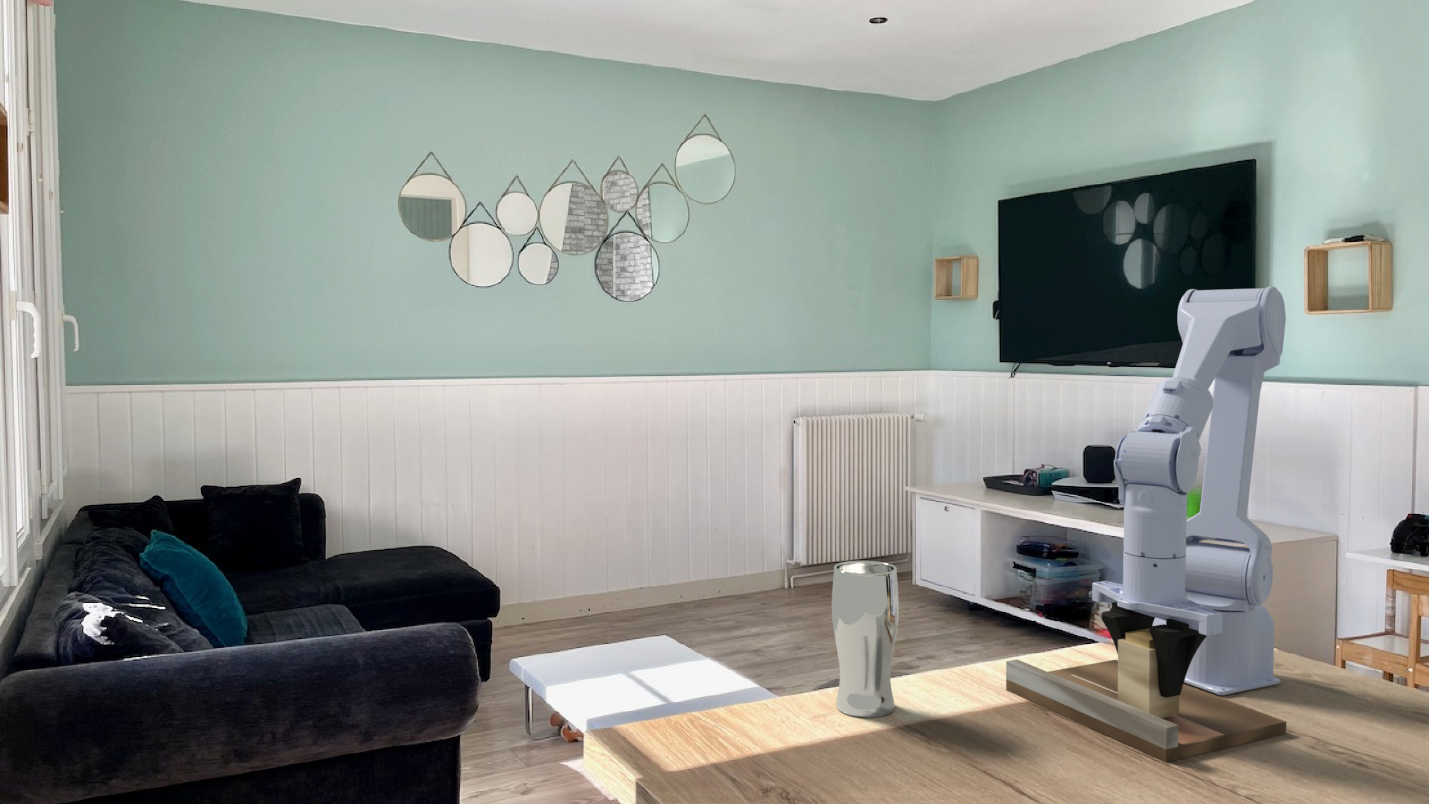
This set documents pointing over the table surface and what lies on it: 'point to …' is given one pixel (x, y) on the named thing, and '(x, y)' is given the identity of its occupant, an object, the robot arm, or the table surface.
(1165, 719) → the board
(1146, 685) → the tan block
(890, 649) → the beer glass
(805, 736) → the table surface
